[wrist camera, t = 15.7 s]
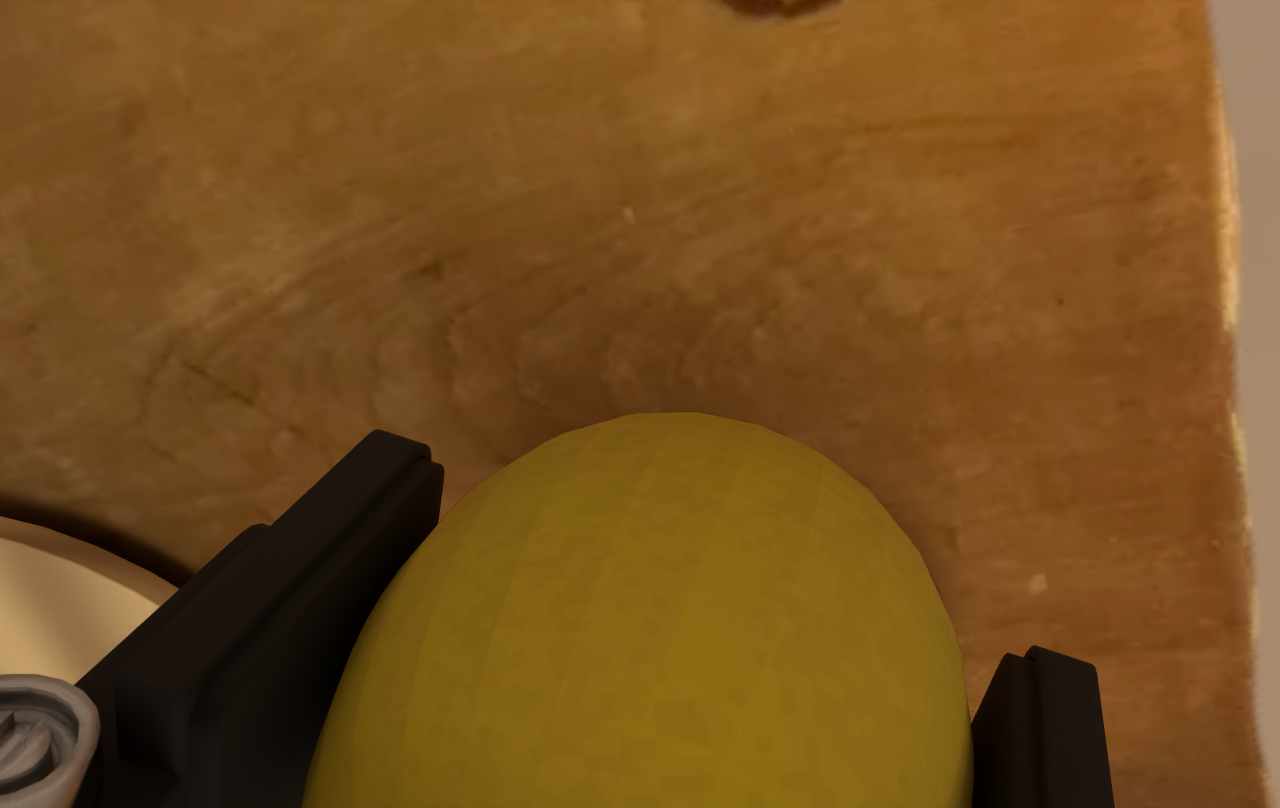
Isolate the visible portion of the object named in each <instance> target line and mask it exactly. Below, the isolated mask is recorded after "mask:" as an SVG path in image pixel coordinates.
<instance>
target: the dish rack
mask: <svg viewBox="0 0 1280 808" xmlns="http://www.w3.org/2000/svg"><path fill="white" fill-rule="evenodd" d="M178 590H179V588H177V587H175V586H174V585H172V584H170V583H169V582H167V581H165V580H164V579H162V578H160V577H159V576H157V575H155V574H153V573H152V572H150V571H148V570H146V569H144V568H141V567H139V566H137V565H135V564H133V563H131V562H129V561H127V560H125V559H123V558H121V557H119V556H116V555H114V554H112V553H110V552H108V551H106V550H104V549H102V548H100V547H98V546H95V545H92V544H90V543H87V542H84V541H81V540H79V539H76V538H73V537H70V536H68V535H65V534H62V533H59V532H57V531H54V530H51V529H48V528H45V527H42V526H38V525H34V524H30V523H26V522H22V521H18V520H14V519H10V518H6V517H2V516H0V675H3V674H39V675H44V676H48V677H53V678H58V679H62V680H64V681H66V682H68V683H70V684H72V685H74V684H75V683H76V682H78V681H79V680H80V679H81V678H82V677H83V676H84V675H85V674H86V673H87V672H89V671H90V670H91V669H92V668H93V667H94V666H95V665H96V664H97V663H98V662H100V661H101V660H102V659H103V658H104V657H105V656H106V655H107V654H108V653H109V652H111V651H112V650H113V649H114V648H115V647H116V646H117V645H118V644H119V643H120V642H122V641H123V640H124V639H125V638H126V637H127V636H128V635H129V634H130V633H132V632H133V631H134V630H135V629H136V628H137V627H138V626H139V625H140V624H141V623H143V622H144V621H145V620H146V619H147V618H148V617H149V616H150V615H151V614H152V613H154V612H155V611H156V610H157V609H158V608H159V607H160V606H161V605H162V604H163V603H165V602H166V601H167V600H168V599H169V598H170V597H171V596H172V595H173V594H174V593H176V592H177V591H178Z"/></svg>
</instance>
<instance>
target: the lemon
mask: <svg viewBox="0 0 1280 808" xmlns="http://www.w3.org/2000/svg"><path fill="white" fill-rule="evenodd" d="M973 785H974V747H973V739H972V731H971V723H970V715H969V707H968V699H967V691H966V683H965V675H964V668H963V660H962V654H961V651H960V647H959V643H958V639H957V636H956V632H955V629H954V627H953V625H952V622H951V620H950V618H949V615H948V613H947V611H946V609H945V606H944V604H943V602H942V600H941V598H940V595H939V593H938V591H937V589H936V587H935V585H934V582H933V580H932V578H931V576H930V574H929V571H928V569H927V567H926V565H925V563H924V560H923V558H922V556H921V554H920V552H919V551H918V549H917V548H916V547H915V545H914V544H913V543H912V541H911V540H910V539H909V538H908V536H907V535H906V534H905V533H904V531H903V530H902V529H901V528H900V526H899V525H898V524H897V523H896V522H895V520H894V519H893V518H892V517H891V515H890V514H889V513H888V512H887V511H886V509H885V508H884V507H883V506H882V504H881V503H880V502H879V501H878V500H877V498H876V497H875V496H874V495H873V493H872V492H871V491H870V490H869V489H867V488H866V487H865V486H863V485H862V484H861V483H860V482H858V481H857V480H856V479H854V478H853V477H852V476H850V475H849V474H848V473H846V472H845V471H844V470H842V469H841V468H840V467H839V466H837V465H836V464H835V463H833V462H832V461H831V460H829V459H828V458H827V457H825V456H824V455H823V454H822V453H820V452H819V451H816V450H814V449H812V448H810V447H807V446H805V445H803V444H801V443H799V442H796V441H794V440H792V439H790V438H787V437H785V436H783V435H781V434H779V433H776V432H774V431H772V430H770V429H767V428H765V427H763V426H761V425H757V424H752V423H747V422H743V421H738V420H733V419H728V418H723V417H719V416H714V415H709V414H704V413H700V412H677V413H636V414H631V415H627V416H622V417H619V418H615V419H612V420H608V421H605V422H601V423H598V424H594V425H590V426H587V427H583V428H580V429H576V430H573V431H569V432H566V433H563V434H561V435H559V436H557V437H555V438H553V439H551V440H548V441H546V442H545V443H543V444H541V445H540V446H538V447H537V448H535V449H533V450H532V451H530V452H528V453H527V454H525V455H524V456H522V457H520V458H519V459H517V460H515V461H514V462H512V463H511V464H509V465H507V466H506V467H504V468H502V469H501V470H499V471H498V472H496V473H494V474H493V475H492V476H490V477H489V478H487V479H486V480H484V481H483V482H481V483H480V484H479V485H477V486H476V487H475V488H473V489H472V490H471V491H470V492H469V493H468V494H467V495H466V496H464V497H463V498H462V499H461V500H460V501H459V502H458V503H457V504H456V505H455V506H454V507H453V508H452V509H451V510H450V511H449V513H448V514H447V515H446V516H445V517H444V518H443V519H442V520H441V522H440V523H439V524H438V525H437V526H436V527H435V528H434V530H433V531H432V532H431V533H430V534H429V535H428V537H427V538H426V539H425V540H424V541H423V542H422V543H421V545H420V546H419V547H418V548H417V549H416V550H415V552H414V553H413V554H412V555H411V556H410V557H409V559H408V560H407V561H406V562H405V563H404V564H403V566H402V567H401V568H400V569H399V570H398V572H397V573H396V575H395V576H394V577H393V579H392V580H391V582H390V583H389V584H388V586H387V587H386V589H385V590H384V591H383V593H382V594H381V596H380V598H379V599H378V601H377V603H376V605H375V606H374V608H373V610H372V612H371V613H370V615H369V617H368V618H367V620H366V622H365V624H364V626H363V628H362V630H361V632H360V635H359V637H358V639H357V641H356V643H355V645H354V647H353V649H352V651H351V654H350V656H349V659H348V661H347V664H346V666H345V669H344V672H343V674H342V677H341V679H340V682H339V684H338V687H337V690H336V692H335V695H334V698H333V700H332V703H331V706H330V708H329V711H328V714H327V717H326V719H325V722H324V725H323V727H322V730H321V733H320V735H319V738H318V741H317V744H316V748H315V751H314V754H313V758H312V761H311V764H310V768H309V771H308V774H307V779H306V784H305V790H304V796H303V802H302V808H971V807H972V796H973Z"/></svg>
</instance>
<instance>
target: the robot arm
mask: <svg viewBox="0 0 1280 808" xmlns="http://www.w3.org/2000/svg"><path fill="white" fill-rule="evenodd" d="M443 483H444V467H443V466H442V465H441V464H438V463H435V462H432V461H431V450H430V448H429V447H428V445H426V444H423V443H420V442H417V441H414V440H411V439H407V438H404V437H401V436H398V435H395V434H392V433H389V432H386V431H383V430H374V431H372V432H371V433H369V434H368V435H367V436H366V437H365V438H364V439H363V440H362V441H361V442H360V443H359V444H358V445H357V446H355V447H354V448H353V449H352V450H351V451H350V452H349V453H348V454H347V455H346V456H345V457H344V458H343V459H342V460H340V461H339V462H338V463H337V464H336V465H335V466H334V467H333V468H332V469H331V470H330V471H329V472H328V473H327V474H326V475H324V476H323V477H322V478H321V479H320V480H319V481H318V482H317V483H316V484H315V485H314V486H313V487H312V488H311V489H309V490H308V491H307V492H306V493H305V494H304V495H303V496H302V497H301V498H300V499H299V500H298V501H297V502H296V503H295V504H293V505H292V506H291V507H290V508H289V509H288V510H287V511H286V512H285V513H284V514H283V515H282V516H281V517H280V518H279V519H277V520H276V521H275V522H274V523H273V524H272V525H271V526H269V525H266V524H263V523H261V524H256V525H252V526H250V527H249V528H248V529H246V530H245V531H243V532H242V533H241V534H239V535H238V536H237V537H236V538H235V539H234V540H233V541H232V542H231V543H229V544H228V545H227V546H226V547H225V548H224V549H223V550H222V551H221V552H220V553H218V554H217V555H216V556H215V557H214V558H213V559H212V560H211V561H210V562H209V563H207V564H206V565H205V566H204V567H203V568H202V569H201V570H200V571H199V572H198V573H196V574H195V575H194V576H193V577H192V578H191V579H190V580H189V581H188V582H187V583H185V584H184V585H183V586H182V587H181V588H180V589H179V590H178V591H177V592H176V593H174V594H173V595H172V596H171V597H170V598H169V599H168V600H167V601H166V602H165V603H163V604H162V605H161V606H160V607H159V608H158V609H157V610H156V611H155V612H154V613H152V614H151V615H150V616H149V617H148V618H147V619H146V620H145V621H144V622H143V623H141V624H140V625H139V626H138V627H137V628H136V629H135V630H134V631H133V632H132V633H130V634H129V635H128V636H127V637H126V638H125V639H124V640H123V641H122V642H120V643H119V644H118V645H117V646H116V647H115V648H114V649H113V650H112V651H111V652H109V653H108V654H107V655H106V656H105V657H104V658H103V659H102V660H101V661H100V662H98V663H97V664H96V665H95V666H94V667H93V668H92V669H91V670H90V671H89V672H87V673H86V674H85V675H84V676H83V677H82V678H81V679H80V680H79V681H78V682H76V683H75V684H74V685H72V684H70V683H68V682H66V681H64V680H62V679H58V678H53V677H48V676H44V675H39V674H3V675H0V808H302V802H303V796H304V790H305V784H306V779H307V774H308V771H309V768H310V764H311V761H312V758H313V754H314V751H315V748H316V744H317V741H318V738H319V735H320V733H321V730H322V727H323V725H324V722H325V719H326V717H327V714H328V711H329V708H330V706H331V703H332V700H333V698H334V695H335V692H336V690H337V687H338V684H339V682H340V679H341V677H342V674H343V672H344V669H345V666H346V664H347V661H348V659H349V656H350V654H351V651H352V649H353V647H354V645H355V643H356V641H357V639H358V637H359V635H360V632H361V630H362V628H363V626H364V624H365V622H366V620H367V618H368V617H369V615H370V613H371V612H372V610H373V608H374V606H375V605H376V603H377V601H378V599H379V598H380V596H381V594H382V593H383V591H384V590H385V589H386V587H387V586H388V584H389V583H390V582H391V580H392V579H393V577H394V576H395V575H396V573H397V572H398V570H399V569H400V568H401V567H402V566H403V564H404V563H405V562H406V561H407V560H408V559H409V557H410V556H411V555H412V554H413V553H414V552H415V550H416V549H417V548H418V547H419V546H420V545H421V543H422V542H423V541H424V540H425V539H426V538H427V537H428V535H429V534H430V533H431V532H432V531H433V530H434V528H435V527H436V526H437V525H438V520H439V513H440V505H441V498H442V490H443ZM971 731H972V739H973V747H974V785H973V796H972V807H971V808H1115V807H1114V799H1113V791H1112V784H1111V776H1110V768H1109V761H1108V753H1107V746H1106V738H1105V730H1104V723H1103V715H1102V707H1101V700H1100V692H1099V685H1098V677H1097V672H1096V668H1095V667H1094V666H1093V665H1092V664H1090V663H1087V662H1084V661H1081V660H1078V659H1075V658H1072V657H1069V656H1066V655H1063V654H1060V653H1057V652H1054V651H1051V650H1048V649H1045V648H1042V647H1039V646H1036V645H1035V646H1032V647H1031V648H1030V649H1029V650H1028V651H1027V652H1026V654H1025V656H1024V658H1023V657H1020V656H1017V655H1014V654H1011V653H1006V654H1005V655H1004V657H1003V658H1002V660H1001V662H1000V664H999V666H998V668H997V670H996V672H995V674H994V676H993V678H992V681H991V683H990V685H989V687H988V689H987V691H986V693H985V696H984V698H983V700H982V702H981V704H980V706H979V709H978V711H977V713H976V715H975V717H974V719H973V721H972V724H971Z"/></svg>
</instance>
